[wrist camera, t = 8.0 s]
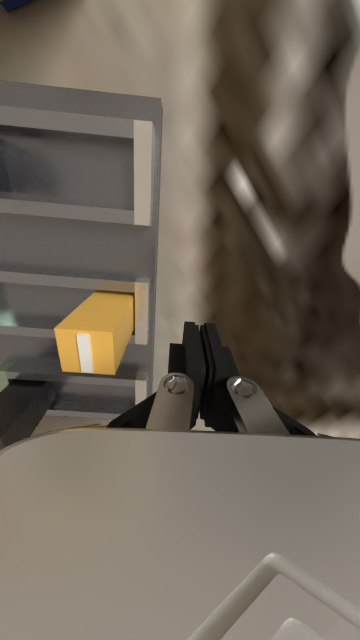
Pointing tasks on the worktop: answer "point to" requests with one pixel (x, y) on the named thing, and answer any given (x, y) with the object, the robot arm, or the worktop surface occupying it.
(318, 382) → the worktop surface
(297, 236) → the worktop surface
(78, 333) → the handle
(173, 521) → the robot arm
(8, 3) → the supplement box
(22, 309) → the compartment sorting tray
